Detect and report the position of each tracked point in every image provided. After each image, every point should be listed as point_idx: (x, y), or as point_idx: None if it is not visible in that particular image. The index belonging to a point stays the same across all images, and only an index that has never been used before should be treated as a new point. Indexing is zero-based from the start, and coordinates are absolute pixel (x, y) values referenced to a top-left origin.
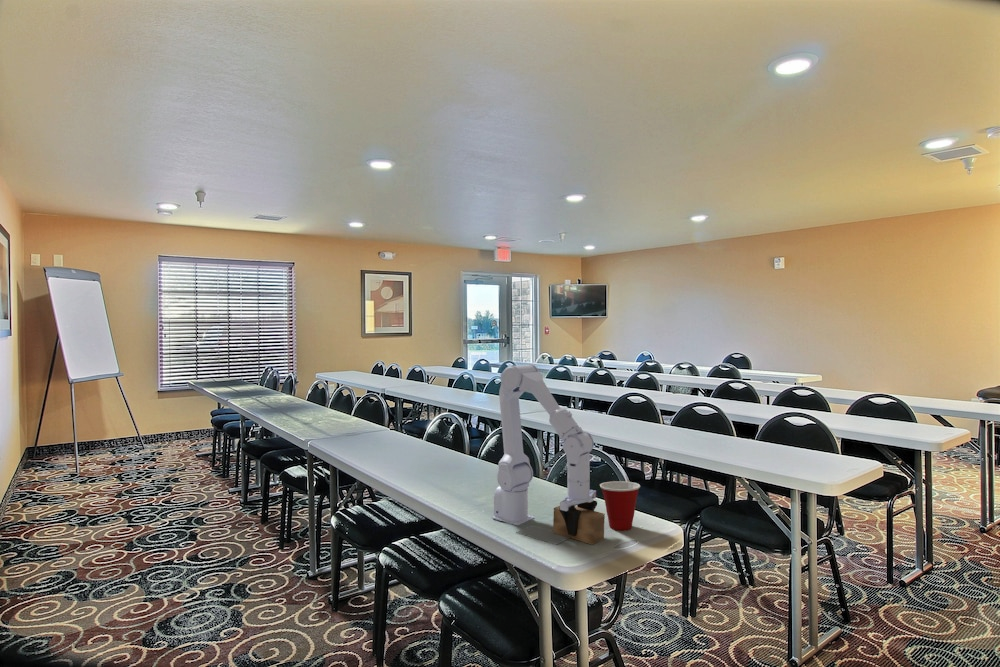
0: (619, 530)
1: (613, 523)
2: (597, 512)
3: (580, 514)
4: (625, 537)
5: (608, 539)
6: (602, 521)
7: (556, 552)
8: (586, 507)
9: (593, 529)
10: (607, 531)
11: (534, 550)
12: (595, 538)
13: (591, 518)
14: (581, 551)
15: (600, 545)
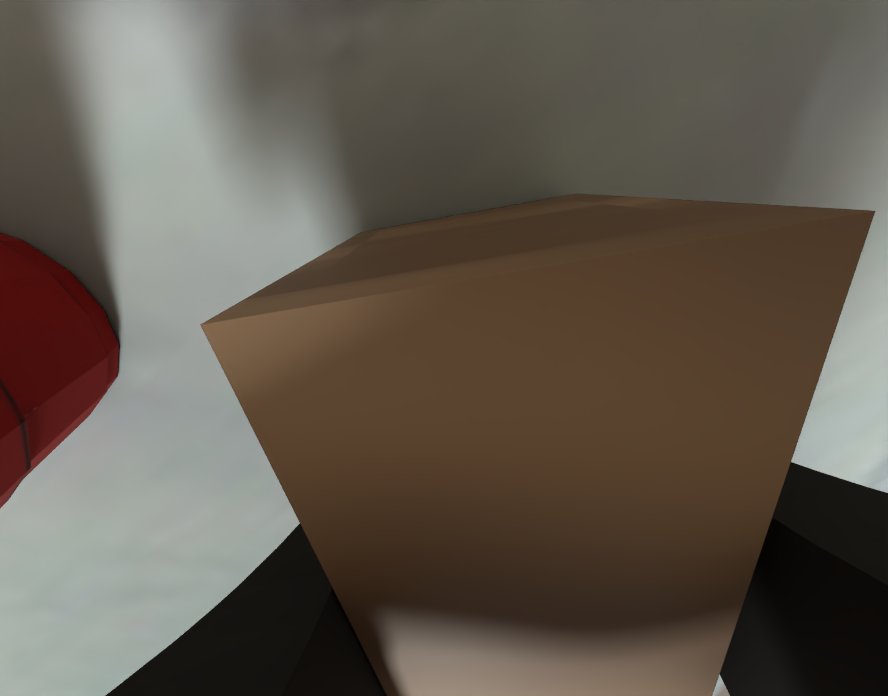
0: (60, 273)
1: (54, 351)
2: (314, 475)
3: (730, 554)
4: (98, 110)
5: (315, 206)
6: (356, 263)
7: (864, 303)
8: (354, 686)
9: (653, 201)
10: (188, 345)
11: (885, 416)
12: (537, 205)
13: (831, 281)
14: (749, 176)
15: (502, 150)
